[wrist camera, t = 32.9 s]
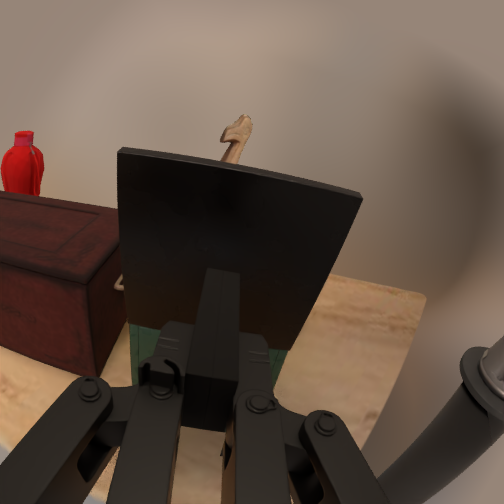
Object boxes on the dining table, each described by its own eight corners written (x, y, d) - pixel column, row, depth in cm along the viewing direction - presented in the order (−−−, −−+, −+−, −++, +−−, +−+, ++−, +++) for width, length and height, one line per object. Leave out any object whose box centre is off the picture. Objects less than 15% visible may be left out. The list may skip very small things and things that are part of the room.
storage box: (153, 291, 54) (161, 210, 48) (113, 385, 33) (105, 280, 27) (-7, 252, 50) (-12, 184, 44) (-74, 307, 29) (-94, 223, 23)
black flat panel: (122, 146, 16) (116, 151, 15) (360, 192, 17) (363, 198, 16) (130, 316, 25) (127, 323, 24) (289, 343, 26) (289, 351, 25)
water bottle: (27, 259, 51) (25, 134, 42) (-1, 246, 53) (-3, 132, 43) (55, 244, 60) (58, 130, 50) (26, 232, 61) (27, 128, 51)
